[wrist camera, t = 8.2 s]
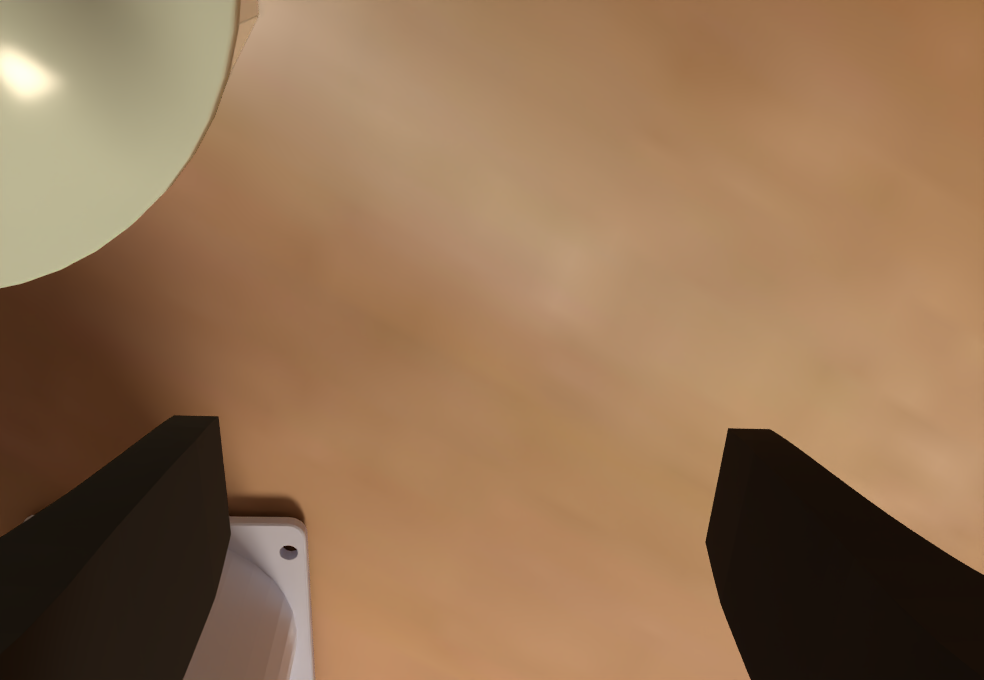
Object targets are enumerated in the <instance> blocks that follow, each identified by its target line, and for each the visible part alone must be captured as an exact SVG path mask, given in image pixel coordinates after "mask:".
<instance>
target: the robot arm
mask: <svg viewBox="0 0 984 680" xmlns="http://www.w3.org/2000/svg"><path fill="white" fill-rule="evenodd" d="M287 545H289V546H293V547H295V548H296V549H297V550H295V551H288V550H286V549H285V548H283V546H287ZM706 546H707V551H708V555H709V559H710V564H711V568H712V572H713V576H714V580H715V584H716V588H717V592H718V595H719V599H720V603H721V606H722V609H723V611H724V614H725V616H726V619H727V622H728V624H729V627H730V629H731V632H732V634H733V637H734V639H735V642H736V644H737V647H738V649H739V652H740V654H741V657H742V659H743V662H744V664H745V667H746V669H747V672H748V674H749V677H750V679H751V680H984V575H983V574H981V573H979V572H977V571H976V570H974V569H972V568H970V567H969V566H967V565H965V564H964V563H962V562H960V561H959V560H957V559H955V558H954V557H952V556H951V555H949V554H947V553H946V552H944V551H943V550H941V549H940V548H938V547H937V546H935V545H933V544H932V543H930V542H929V541H927V540H926V539H924V538H923V537H921V536H920V535H918V534H917V533H915V532H913V531H912V530H910V529H909V528H907V527H906V526H904V525H903V524H902V523H900V522H899V521H897V520H896V519H894V518H893V517H891V516H890V515H888V514H887V513H886V512H884V511H883V510H881V509H880V508H879V507H877V506H876V505H874V504H873V503H872V502H870V501H869V500H867V499H866V498H865V497H863V496H862V495H861V494H859V493H858V492H856V491H855V490H854V489H852V488H851V487H850V486H848V485H847V484H846V483H844V482H843V481H842V480H840V479H839V478H837V477H836V476H835V475H833V474H832V473H831V472H829V471H828V470H827V469H825V468H824V467H823V466H821V465H820V464H819V463H817V462H816V461H815V460H813V459H812V458H811V457H809V456H808V455H807V454H805V453H804V452H803V451H801V450H800V449H799V448H797V447H796V446H794V445H793V444H792V443H790V442H789V441H787V440H786V439H784V438H783V437H781V436H780V435H778V434H777V433H775V432H774V431H772V430H770V429H733V428H728V432H727V437H726V442H725V447H724V452H723V457H722V462H721V467H720V472H719V477H718V482H717V487H716V492H715V497H714V502H713V507H712V512H711V517H710V522H709V527H708V532H707V537H706ZM0 680H315V666H314V648H313V629H312V611H311V592H310V573H309V555H308V536H307V529H306V526H305V525H304V524H303V522H302V521H300V520H298V519H296V518H291V517H236V516H229V510H228V501H227V492H226V482H225V473H224V464H223V455H222V445H221V436H220V427H219V417H218V416H175V415H174V416H173V417H171V418H169V419H168V420H166V421H165V422H163V423H162V424H161V425H159V426H158V427H157V428H155V429H154V430H152V431H151V432H150V433H148V434H147V435H146V436H144V437H143V438H142V439H140V440H139V441H138V442H136V443H135V444H134V445H132V446H131V447H130V448H128V449H127V450H126V451H125V452H123V453H122V454H121V455H119V456H118V457H117V458H115V459H114V460H112V461H111V462H110V463H108V464H107V465H106V466H104V467H103V468H102V469H100V470H99V471H97V472H96V473H95V474H93V475H92V476H91V477H89V478H88V479H87V480H85V481H84V482H83V483H81V484H80V485H78V486H77V487H76V488H74V489H73V490H71V491H70V492H69V493H67V494H66V495H64V496H63V497H61V498H60V499H58V500H57V501H55V502H54V503H52V504H51V505H49V506H48V507H46V508H45V509H43V510H42V511H40V512H39V513H37V514H36V515H31V516H29V517H27V518H26V519H25V520H24V522H23V523H22V524H20V525H19V526H17V527H16V528H14V529H13V530H11V531H10V532H8V533H7V534H5V535H3V536H2V537H0Z"/></svg>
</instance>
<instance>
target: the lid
mask: <svg viewBox="0 0 984 680" xmlns="http://www.w3.org/2000/svg"><path fill="white" fill-rule="evenodd" d="M240 6H241V0H0V288H4V287H8V286H13V285H18V284H22V283H25V282H28V281H31V280H34V279H36V278H39V277H42V276H45V275H48V274H51V273H53V272H56V271H59V270H61V269H63V268H65V267H67V266H69V265H71V264H73V263H75V262H77V261H79V260H80V259H82V258H84V257H86V256H88V255H90V254H92V253H94V252H96V251H97V250H99V249H100V248H101V247H103V246H104V245H106V244H107V243H108V242H110V241H111V240H112V239H114V238H115V237H116V236H118V235H119V234H120V233H122V232H123V231H125V230H126V229H127V228H129V227H130V226H131V225H132V224H133V223H134V222H135V221H136V220H137V219H139V218H140V217H141V216H142V215H143V214H144V213H145V212H146V211H147V210H148V209H149V208H150V207H151V206H152V205H153V204H154V203H155V202H156V201H157V200H158V199H159V198H160V197H161V196H162V195H163V194H164V193H165V192H166V191H167V190H168V189H169V188H170V187H171V186H172V185H173V183H174V182H175V180H176V179H177V178H178V176H179V175H180V174H181V172H182V171H183V170H184V168H185V167H186V165H187V164H188V163H189V161H190V160H191V159H192V157H193V156H194V155H195V153H196V151H197V149H198V148H199V146H200V144H201V142H202V140H203V138H204V136H205V134H206V132H207V130H208V128H209V127H210V125H211V123H212V121H213V119H214V117H215V115H216V112H217V109H218V106H219V103H220V100H221V98H222V95H223V92H224V89H225V86H226V83H227V81H228V78H229V75H230V70H231V65H232V60H233V55H234V51H235V46H236V41H237V36H238V31H239V20H240Z"/></svg>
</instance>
